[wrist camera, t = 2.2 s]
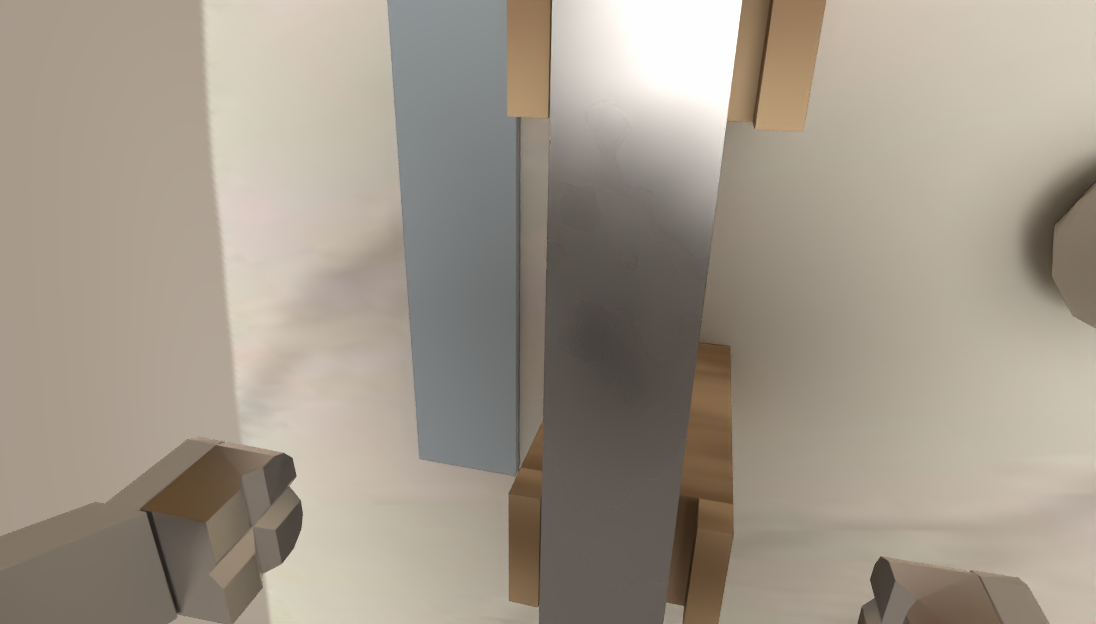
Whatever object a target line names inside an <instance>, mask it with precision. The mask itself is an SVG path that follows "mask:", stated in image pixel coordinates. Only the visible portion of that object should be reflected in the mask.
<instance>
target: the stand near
mask: <svg viewBox="0 0 1096 624" xmlns="http://www.w3.org/2000/svg"><path fill="white" fill-rule="evenodd" d="M825 3H826V0H742V3H741V11H740V19H739V27H738V35H737V43H736V51H735V59H734V67H733V74H732V82H731V90H730V98H729V106H728V114H727V121H740V122H753V125H754V128H755V129H757V130H776V131H795V132H803V131H804V125H805V119H806V113H807V107H808V102H809V96H810V90H811V84H812V79H813V73H814V67H815V61H816V55H817V50H818V44H819V38H820V32H821V27H822V21H823V15H824V9H825ZM551 34H552V0H507V116H510V117H529V118H550V81H551Z"/></svg>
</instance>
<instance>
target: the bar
mask: <svg viewBox="0 0 1096 624" xmlns="http://www.w3.org/2000/svg"><path fill="white" fill-rule="evenodd" d="M741 3H742V0H552V34H551V81H550V128H549V175H548V222H547V269H546V316H545V363H544V410H543V457H542V504H541V551H540V598H539V624H663V620H664V613H665V605H666V597H667V589H668V581H669V573H670V565H671V557H672V549H673V541H674V533H675V526H676V518H677V510H678V502H679V494H680V486H681V478H682V470H683V462H684V454H685V446H686V438H687V431H688V423H689V415H690V407H691V399H692V391H693V383H694V375H695V367H696V359H697V351H698V344H699V336H700V328H701V320H702V312H703V304H704V296H705V288H706V280H707V272H708V264H709V256H710V249H711V241H712V233H713V225H714V217H715V209H716V201H717V193H718V185H719V177H720V169H721V162H722V154H723V146H724V138H725V130H726V122H727V114H728V106H729V98H730V90H731V82H732V74H733V67H734V59H735V51H736V43H737V35H738V27H739V19H740V11H741Z"/></svg>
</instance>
